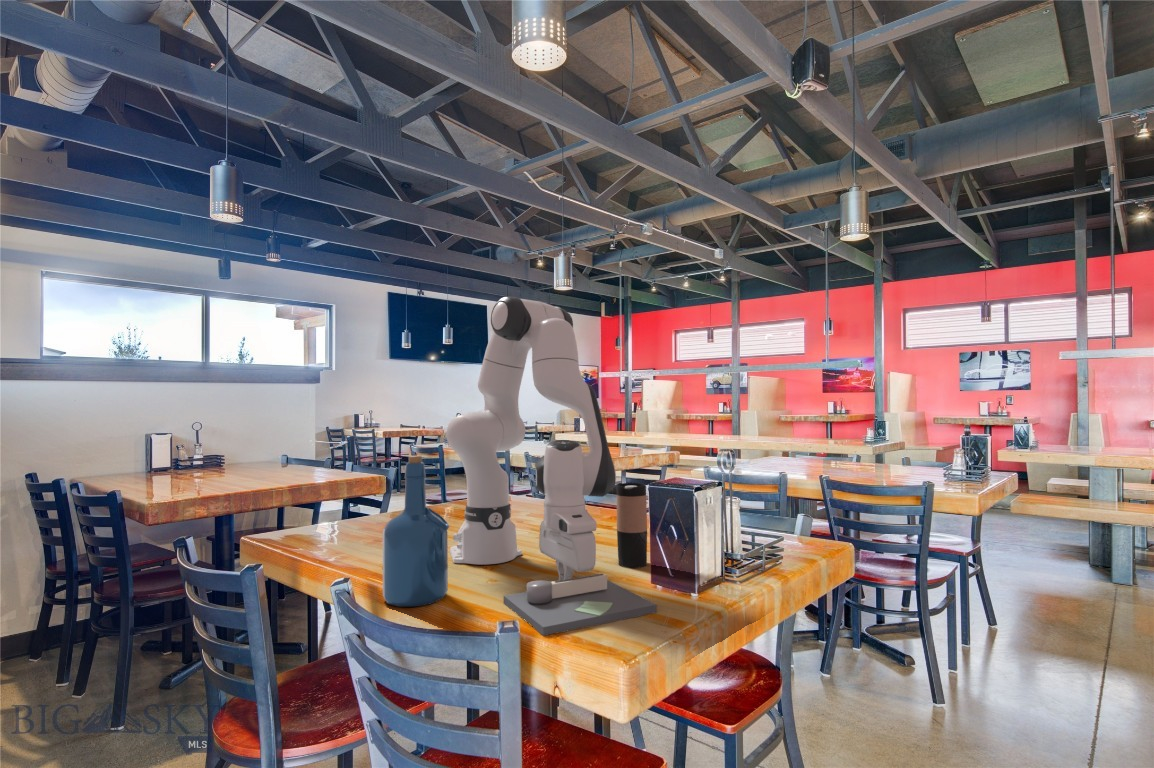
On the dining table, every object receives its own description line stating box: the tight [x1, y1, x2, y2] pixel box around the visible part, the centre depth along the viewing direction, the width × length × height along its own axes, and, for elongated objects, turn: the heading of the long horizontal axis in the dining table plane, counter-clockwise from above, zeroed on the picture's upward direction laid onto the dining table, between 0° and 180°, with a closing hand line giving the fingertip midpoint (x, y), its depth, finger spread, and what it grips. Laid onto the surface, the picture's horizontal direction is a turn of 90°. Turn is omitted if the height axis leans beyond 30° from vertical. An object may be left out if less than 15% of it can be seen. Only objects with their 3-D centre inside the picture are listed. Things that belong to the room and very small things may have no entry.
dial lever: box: [526, 572, 608, 604], centre depth 120 cm, size 5×18×3 cm, turn 117°
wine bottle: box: [382, 455, 450, 608], centre depth 125 cm, size 14×13×30 cm
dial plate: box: [502, 579, 658, 637], centre depth 117 cm, size 20×24×2 cm
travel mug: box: [616, 482, 648, 569], centre depth 150 cm, size 8×8×20 cm
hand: (565, 583), depth 125 cm, fingers closed
